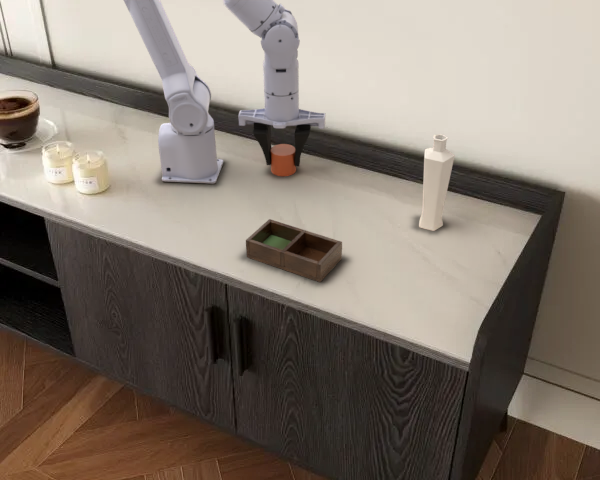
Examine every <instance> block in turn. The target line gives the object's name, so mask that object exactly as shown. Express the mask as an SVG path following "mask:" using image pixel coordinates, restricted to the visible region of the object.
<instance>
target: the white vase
mask: <svg viewBox="0 0 600 480" xmlns="http://www.w3.org/2000/svg"><path fill="white" fill-rule="evenodd" d="M432 139H433V145H432V147H428V148H425V149H424V157H423V182H422V183H423V184H422V210H421V211H422V212H421V215H420V218H419V222H418V227H419V228H421V229H424V230H428V231H432V232H435V231H437V230H438V229H440V228H441V227H443V226H444V222H443V212H444V207H445V202H446V199H447V193H448V188H449V184H450V181H451V180H450V179H451V174H452V171H453V170H452V169H453V165H454V161H455V154H454V153H453V152H451V151H450V150H448V149H447V141H448V139H449V137H448V136H446V135H445V134H444V133H439V134H433V138H432Z"/></svg>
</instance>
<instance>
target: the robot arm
mask: <svg viewBox="0 0 600 480" xmlns="http://www.w3.org/2000/svg"><path fill="white" fill-rule="evenodd" d="M123 2H124V4H125V6H126V8H127V10H128V12H129V15H130V16H131V19H132V21H133V23H134V25H135V27H136V29H137V31H138V33H139V35H140V38H141V40H142V42H143V44H144V47H145V48H146V50H147V52H148V55H149V56H150V58H151V61H152V62H153V64H154V67H155V69H156V71H157V73H158V75H159V77H160V79H161V83H162V89H163V94H164V95H163V96H164V99H165V101H166V103H167V106H168V121H169V122H165V123H161V125H160V126H159V130H158V135H157V136H158V139H157V143H158V153H159V161H160V168H161V174H162V175H161V181H162V182H166V183H167V182H169V183H190V184H191V183H192V184H193V183H194V184H195V183H196V184H216V183H217V181H218V178H219V176H220V172H221V171H222V167H223V165H224V159H221V158H218V156H217V155H218V154H217V153H218V152H217V145H216V143H217V141H216V133H215V121H214V118H213V117H212V116H211V114H210V113H209V109H210V103H211V100H212V92H211V89H210V86H209V85H208V84H207V83H206V82H205V81H204V80H203V79H201V77H200V76H199V75H198V73H197V71H196V68H195V67H194V66H192V65H191V64H190V63H189V61H188V59H187V56H186V55H185V52H184V50H183V47H182V46H181V45H182V44H180V41H179V39H178V37H177V34H176V32H175V30H174V28H173V25H172V23H171V21H170V19H169V16H168V15H167V12H166V10H165V8H164V5H163V3H162V1H161V0H123ZM222 3H223V6H224V7H226V8H227V10H229V12H230V13H231V14H232V15H233V16H234V17H235V18H236V19H237V20H239V22H241V23H242V24H243V25H244V26H245V27H246V28H247V29H248V30H249V31H250V33H252V35H254V36H257V37H259V38H260V39H261V40H260V45H261V48H262V50H263V54H264V59H263V61H262V76H263V99H264V100H263V101H264V108H263V107H262V108H255V109H241V110H239V112H238V115H237V116H238V117H237V118H238V126H241V127H245V126H246V125H253V130H252V134H253V137H254V138H255V140H256V141H257V143H258V145H259V146H260V148H261V151H262V153H263V156H264V159H265V164H266V166H271V154H270V150H271V148H272V139H271V138H272V126H273V128H274V129H286V127H295V129H294V147H295V166H296V167H300V164H301V157H302V152H303V150H304V147H305V145H306V142H307V141H308V139H309V136H310V135H311V129H312V128H313V127H314V128H318V129H320V130H325V128H326V116H327V115H326V113H325V112H316V111H311V110H305V109H301V108H300V92H299V91H300V83H299V82H300V80H299V79H300V76H299V75H300V74H299V72H300V71H299V70H300V68H299V59H298V57H299V51H298V49H299V46H300V42H301V41H300V39H299V25H298V22H297V19H296V18H295V16H294V15H293V13H292V11H291V10H289V9H287V8H286V7H285V6H284V5H283V4H282V3H279V4H278V3H277V2H276V1H275V0H222Z"/></svg>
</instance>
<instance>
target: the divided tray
mask: <svg viewBox="0 0 600 480" xmlns="http://www.w3.org/2000/svg"><path fill="white" fill-rule="evenodd" d="M245 251H246V258H249V259H251V260H254V261H257V262H260V263H263V264H266V265H269V266H271V267H274V268H277V269H281V270H283V271H286V272H288V273H291V274H295V275H297V276H301V277H303V278H306V279H310V280H313V281H315V282H318V283H321V282H322V281H323V280H324V279H325V278H326V277H327V276H328V275H329V274H330V272H331V271H332V270H333V269H334V268H335V267H336V266H337V265H338V264H339V262H341V260H342V259H343V241H341V240H337V239H334V238H332V237H329V236H325V235H322V234H318V233H315V232H312V231H309V230H306V229H303V228H300V227H296V226H293V225H290V224H286V223H284V222H280V221H276V220H274V219H271V218H269V219H268V220H266V221H265V222H264V223H263V224H262V225H261V226H260V227H259V228H258V229H256V230H255V231H254V232H253V233H252V234H250V235H249V237H248V238H246V239H245Z"/></svg>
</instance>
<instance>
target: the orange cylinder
mask: <svg viewBox="0 0 600 480" xmlns="http://www.w3.org/2000/svg"><path fill="white" fill-rule="evenodd" d="M270 154H271V165H270V172H271V174H273V175H274V176H278V177H289V176H292V175H294V174H295V173H296V171H297V166H295V145H292V144H287V143H280V144H275V145H273V146H271V150H270Z"/></svg>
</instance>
